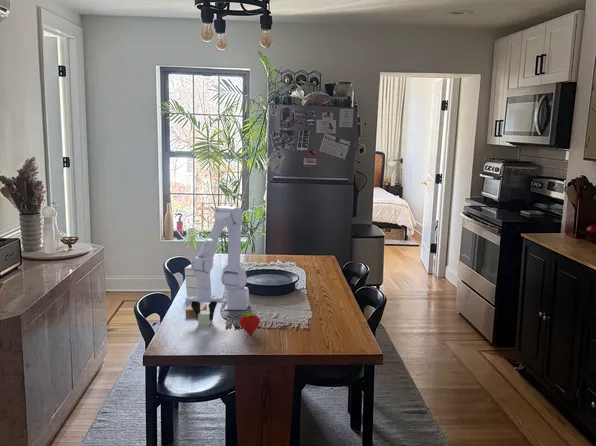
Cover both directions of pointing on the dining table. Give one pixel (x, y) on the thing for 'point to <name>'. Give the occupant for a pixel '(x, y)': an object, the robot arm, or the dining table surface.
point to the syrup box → (190, 281)
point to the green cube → (204, 317)
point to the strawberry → (249, 322)
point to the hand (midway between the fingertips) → (205, 319)
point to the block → (191, 312)
